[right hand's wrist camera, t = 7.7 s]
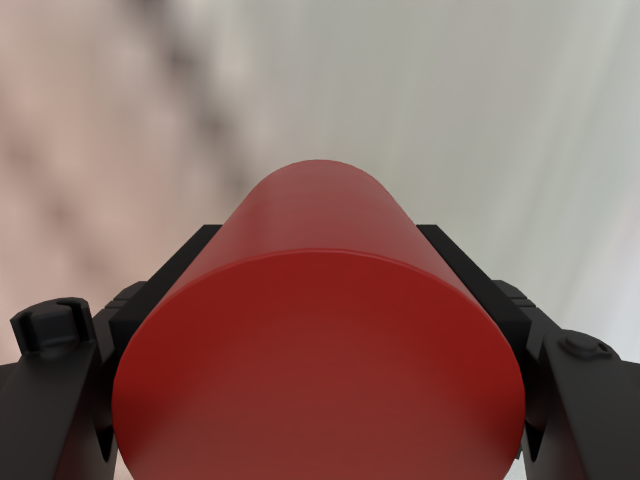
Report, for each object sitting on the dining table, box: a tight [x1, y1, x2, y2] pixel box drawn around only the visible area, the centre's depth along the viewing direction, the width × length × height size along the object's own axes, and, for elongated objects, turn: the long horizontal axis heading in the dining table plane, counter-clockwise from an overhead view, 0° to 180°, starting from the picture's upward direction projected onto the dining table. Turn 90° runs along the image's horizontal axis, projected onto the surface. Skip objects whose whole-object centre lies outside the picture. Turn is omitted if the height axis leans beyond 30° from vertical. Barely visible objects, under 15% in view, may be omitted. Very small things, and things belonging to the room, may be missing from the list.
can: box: [111, 160, 526, 480], centre depth 11 cm, size 7×7×10 cm
